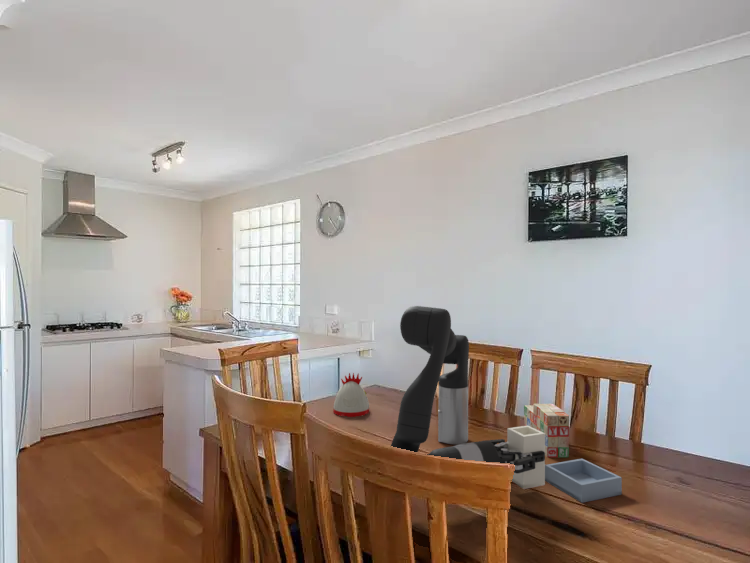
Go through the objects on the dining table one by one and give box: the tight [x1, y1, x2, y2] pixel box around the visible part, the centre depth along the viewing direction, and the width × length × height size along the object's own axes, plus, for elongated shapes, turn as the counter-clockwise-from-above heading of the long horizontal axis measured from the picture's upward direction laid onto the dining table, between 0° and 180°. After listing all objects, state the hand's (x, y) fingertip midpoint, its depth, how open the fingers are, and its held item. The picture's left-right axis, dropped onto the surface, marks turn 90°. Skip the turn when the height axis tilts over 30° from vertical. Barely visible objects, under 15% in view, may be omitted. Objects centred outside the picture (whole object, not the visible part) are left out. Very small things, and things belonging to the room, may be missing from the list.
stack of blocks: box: [523, 403, 570, 458], centre depth 138 cm, size 21×6×12 cm, turn 179°
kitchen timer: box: [332, 372, 370, 418], centre depth 173 cm, size 14×14×15 cm
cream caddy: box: [506, 425, 546, 490], centre depth 106 cm, size 6×6×12 cm
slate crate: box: [545, 458, 623, 503], centre depth 109 cm, size 12×12×4 cm
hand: (534, 450), depth 107 cm, fingers closed on cream caddy, 6 cm apart
